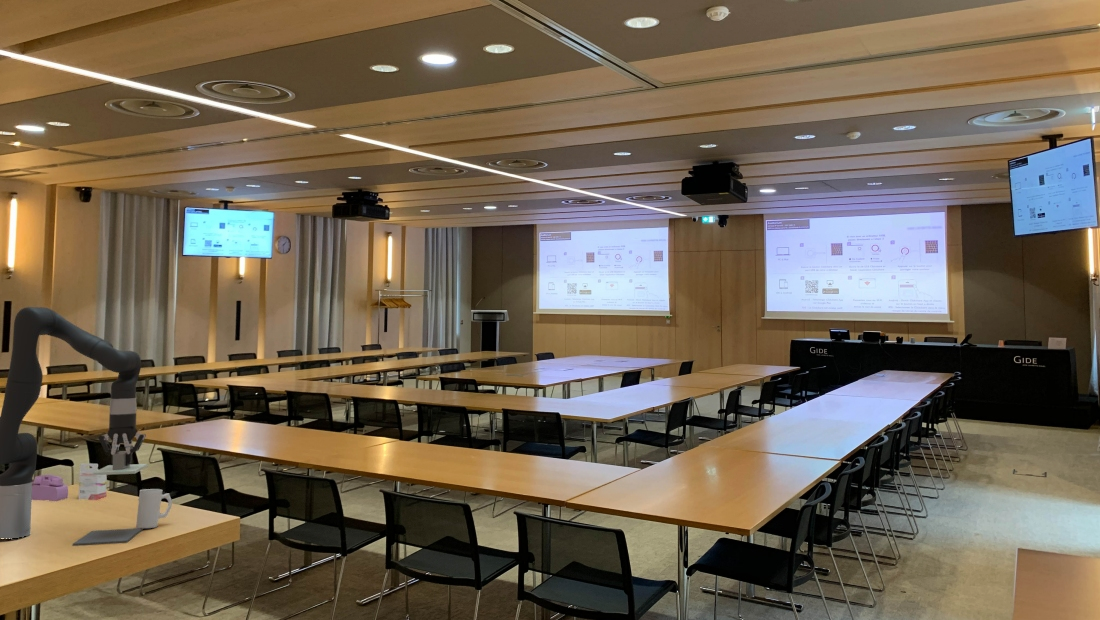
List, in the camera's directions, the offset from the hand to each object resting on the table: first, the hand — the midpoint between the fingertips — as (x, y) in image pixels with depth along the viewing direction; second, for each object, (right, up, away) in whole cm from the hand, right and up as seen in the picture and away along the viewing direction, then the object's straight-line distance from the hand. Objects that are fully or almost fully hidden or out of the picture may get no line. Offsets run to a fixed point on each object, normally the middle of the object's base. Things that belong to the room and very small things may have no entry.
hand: (121, 465), depth 228 cm
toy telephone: (-60, -25, +49) cm, 81 cm away
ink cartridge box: (-41, -25, +48) cm, 68 cm away
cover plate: (0, -2, 0) cm, 2 cm away
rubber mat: (-2, -22, -4) cm, 23 cm away
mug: (+5, -23, +8) cm, 25 cm away
